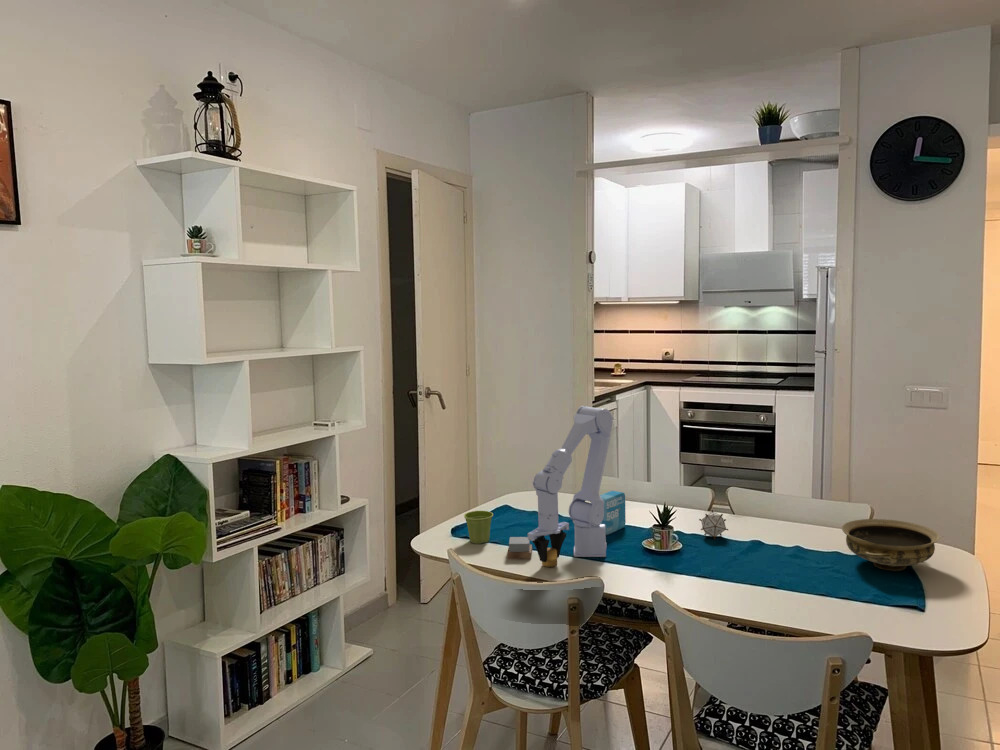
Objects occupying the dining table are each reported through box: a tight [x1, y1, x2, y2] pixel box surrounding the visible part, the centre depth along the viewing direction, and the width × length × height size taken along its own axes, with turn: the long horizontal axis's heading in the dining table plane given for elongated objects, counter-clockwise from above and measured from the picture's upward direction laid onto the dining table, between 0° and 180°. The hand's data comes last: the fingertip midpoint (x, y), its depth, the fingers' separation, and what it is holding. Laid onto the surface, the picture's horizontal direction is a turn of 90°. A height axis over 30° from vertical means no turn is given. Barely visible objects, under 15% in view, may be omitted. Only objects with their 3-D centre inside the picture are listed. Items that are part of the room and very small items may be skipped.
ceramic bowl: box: [841, 518, 940, 572], centre depth 209 cm, size 30×24×10 cm
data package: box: [599, 490, 626, 536], centre depth 248 cm, size 12×4×12 cm, turn 138°
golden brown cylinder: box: [541, 547, 558, 568], centre depth 218 cm, size 4×4×4 cm
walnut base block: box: [506, 544, 533, 560], centre depth 228 cm, size 7×7×2 cm
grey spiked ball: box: [698, 509, 729, 540], centre depth 238 cm, size 9×8×10 cm
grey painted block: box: [508, 536, 531, 552], centre depth 227 cm, size 6×6×2 cm
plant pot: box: [463, 510, 494, 545], centre depth 241 cm, size 9×9×9 cm
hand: (549, 558), depth 218 cm, fingers closed on golden brown cylinder, 4 cm apart
